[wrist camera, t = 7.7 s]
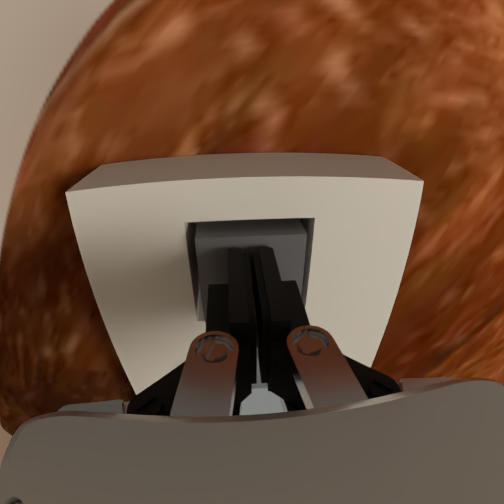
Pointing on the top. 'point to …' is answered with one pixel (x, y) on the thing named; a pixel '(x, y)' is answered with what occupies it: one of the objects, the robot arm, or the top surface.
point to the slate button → (261, 399)
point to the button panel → (240, 208)
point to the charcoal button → (248, 248)
